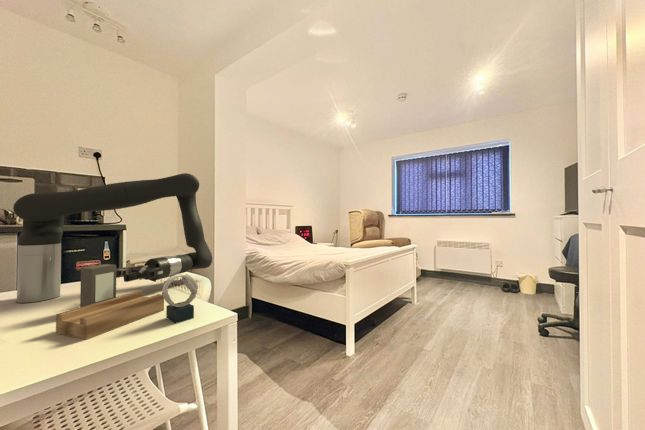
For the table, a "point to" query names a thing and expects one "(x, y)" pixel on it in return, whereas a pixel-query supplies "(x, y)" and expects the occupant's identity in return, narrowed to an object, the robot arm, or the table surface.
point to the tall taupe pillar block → (97, 284)
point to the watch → (182, 309)
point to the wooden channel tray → (107, 315)
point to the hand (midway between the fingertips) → (114, 277)
